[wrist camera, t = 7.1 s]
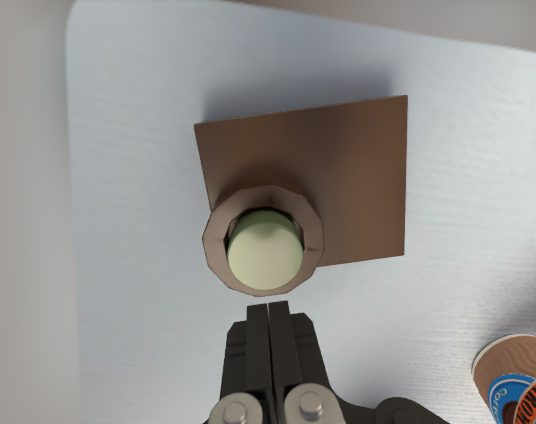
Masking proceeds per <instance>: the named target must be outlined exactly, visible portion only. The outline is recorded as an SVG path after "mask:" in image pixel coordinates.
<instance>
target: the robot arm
mask: <svg viewBox="0 0 536 424" xmlns="http://www.w3.org/2000/svg"><path fill="white" fill-rule="evenodd" d="M268 307H269V313H268ZM268 307H267V303H265V304H258V305H251V306H247V321H240V322H234V324H233V325H232V327H231V328H230V330H229V331H228V333H227V341H226V349H225V358H224V366H223V374H222V383H221V391H220V399H219V402H218V403H217V404H216V405H215V406H214V408H213V409H212V411H211V413H210V416H209V419H208V420H207V421H205V422H204V423H203V424H450V423H448V422H447V421H445V420H443V419H442V418H440V417H439V416H437V415H436V414H434V413H432V412H431V411H429V410H428V409H426V408H424V407H423V406H421V405H420V404H418V403H416V402H414V401H412V400H409V399H406V398H401V397H393V398H388V399H386V400H384V401H382V402H381V403H380V404H379V405H378V406H377V408H376V409H371V408H366V407H360V406H356V405H352V404H350V403H348V402H346V401H344V400H343V399H341V398H340V397H339V396H338V395H337V394H336V393H335V392H334V391H333V389H332V388H331V386H330V383H329V380H328V377H327V373H326V369H325V366H324V362H323V358H322V355H321V351H320V348H319V345H318V340H317V337H316V333H315V329H314V326H313V322H312V321H311V320H310V319H309V317H308V316H307V315H306V314H305V313H298V314H290V312H289V306H288V301H279V302H272V303H268Z"/></svg>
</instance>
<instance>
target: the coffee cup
mask: <svg viewBox="0 0 536 424" xmlns="http://www.w3.org/2000/svg"><path fill="white" fill-rule="evenodd" d="M472 377H473V381H474V382H475V384H476V386H477V388H478V390H479V393H480V395H481V397H482V398H483V400H484V402H485V403H486V405H487V406H488V408H489V409H490V411H491V413H492V415H493V417H494V419H495V421H496V423H497V424H536V336H534V335H530V334H513V335H508V336H505V337H502V338H499V339H497V340H495V341H494V342H492V343H490V344H489V345H488V346H486V347H485V348H484V349H483V350H482V351H481V352H480V353H479V355H478V356H477V358H476V360H475V362H474V364H473V368H472Z"/></svg>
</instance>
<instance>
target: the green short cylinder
mask: <svg viewBox="0 0 536 424" xmlns="http://www.w3.org/2000/svg"><path fill="white" fill-rule="evenodd" d="M227 261H228V266H229V268H230V271H231V272H232V274H233V275H234V277H235V278H236V279H237V280H238V281H239V282H240V283H242V284H243V285H245V286H247V287H249V288H252V289H256V290H265V291H266V290H274V289H277V288H280V287H282V286H284V285H286V284H288V283H289V282H290V281H292V280H293V279H294V278H295V276H296V275H297V274H298V272H299V270H300V268H301V266H302V262H303V248H302V245H301V242H300V239H299V236H298V233H297V230H296V228H295V226H294V225H293V223H292V222H291V221H290V220H289V219H288V218H287V217H285V216H284V215H282V214H280V213H278V212H275V211H270V210H259V211H255V212H252V213H249V214H247V215H245V216H244V217H242V218H241V219H240V220H239V221H238V222H237V223H236V225H235V226H234V228H233V230H232V233H231V236H230V242H229V247H228V252H227Z"/></svg>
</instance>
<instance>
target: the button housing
mask: <svg viewBox="0 0 536 424" xmlns="http://www.w3.org/2000/svg"><path fill="white" fill-rule="evenodd" d="M407 108H408V96H407V95H400V96H388V97H381V98H373V99H366V100H359V101H352V102H344V103H337V104H330V105H323V106H315V107H308V108H301V109H294V110H286V111H279V112H272V113H265V114H257V115H250V116H243V117H236V118H228V119H221V120H214V121H207V122H201V123H197V124H194V130H195V135H196V140H197V145H198V150H199V155H200V160H201V165H202V170H203V174H204V179H205V184H206V189H207V194H208V199H209V204H210V209H211V215H210V218H209V220H208V223H207V226H206V228H205V231H204V234H203V236H202V241H203V246H204V250H205V255H206V259H207V264H208V267H209V268H210V269H211V270H212V271H213V272H214V273H215V274H216V275H217V276H218V277H219V279H220V280H221V281H222V282H223V283H224V284H225V285H226V286H227V287H228V288H231V289H234V290H237V291H240V292H243V293H246V294H249V295H252V296H255V297H263V296H270V295H278V294H285V293H288V292H289V291H291V290H292V289H294V288H295V287H297V286H298V285H300V284H301V283H303V282H304V281H306V280H307V279H309V278H310V277H311V276H312V275H313V273H314V271H315V269H316V267H321V266H329V265H336V264H343V263H351V262H358V261H366V260H373V259H380V258H388V257H395V256H402V255H404V239H405V196H406V152H407ZM259 210H270V211H275V212H278V213H280V214H282V215H284V216H285V217H287V218H288V219H289V220H290V221H291V222H292V223H293V225H294V226H295V228H296V230H297V233H298V236H299V239H300V242H301V245H302V248H303V262H302V266H301V268H300V270H299V272H298V274H297V275H296V276H295V278H294V279H293V280H292V281H290V282H289V283H288V284H286V285H284V286H282V287H280V288H277V289H274V290H266V291H265V290H256V289H252V288H249V287H247V286H245V285H243V284H242V283H240V282H239V281H238V280H237V279H236V278H235V277H234V275H233V274H232V272H231V271H230V268H229V266H228V261H227V252H228V247H229V242H230V236H231V233H232V230H233V228H234V226H235V225H236V223H237V222H238V221H239V220H240V219H241V218H242V217H244V216H245V215H247V214H249V213H252V212H255V211H259Z"/></svg>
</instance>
